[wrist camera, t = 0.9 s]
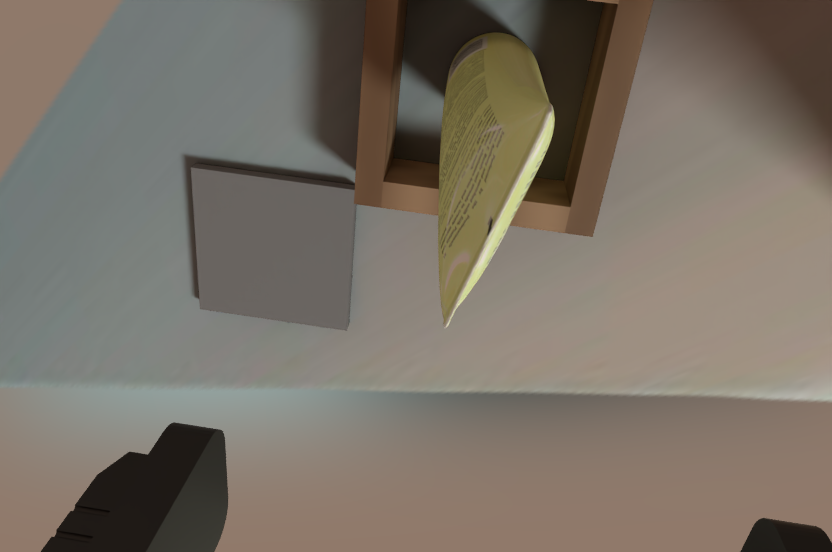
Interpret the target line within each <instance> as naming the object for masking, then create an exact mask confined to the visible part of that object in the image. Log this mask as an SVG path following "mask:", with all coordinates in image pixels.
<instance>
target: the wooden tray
mask: <svg viewBox="0 0 832 552" xmlns="http://www.w3.org/2000/svg"><path fill="white" fill-rule="evenodd" d="M589 1H597V2H604V4H603V9H602V13H601V17H600V22H599V26H598V31H597V35H596V40H595V44H594V49H593V53H592V58H591V62H590V67H589V71H588V75H587V80H586V84H585V89H584V93H583V98H582V102H581V107H580V111H579V116H578V120H577V125H576V129H575V134H574V138H573V142H572V147H571V151H570V156H569V160H568V165H567V169H566V174H565V178H564V181H560V180H552V179H545V178H538V177H534V179H533V181H532V182H531V184H530V186H529V188H528V190H527V192H526V194H525V196H524V198H523V200H522V202H521V204H520V206H519V208H518V210H517V211H516V213H515V215H514V217H513V219H512V221H511V223H510V225H511V226H518V227H525V228H532V229H539V230H547V231H554V232H561V233H568V234H576V235H583V236H590V237H593V233H594V229H595V226H596V222H597V218H598V214H599V210H600V206H601V202H602V198H603V194H604V191H605V187H606V183H607V179H608V175H609V171H610V167H611V163H612V160H613V156H614V152H615V148H616V144H617V140H618V136H619V132H620V128H621V125H622V121H623V117H624V113H625V109H626V105H627V101H628V97H629V94H630V90H631V86H632V82H633V78H634V74H635V70H636V66H637V62H638V59H639V55H640V51H641V47H642V43H643V39H644V35H645V31H646V27H647V24H648V20H649V16H650V12H651V8H652V4H653V0H589ZM407 2H408V0H366V15H365V31H364V47H363V64H362V80H361V96H360V112H359V128H358V145H357V161H356V177H355V193H354V204H359V205H366V206H373V207H381V208H388V209H395V210H402V211H409V212H417V213H424V214H431V215H438V216H439V168H440V164H434V163H426V162H419V161H411V160H404V159H397V158H393V157H394V146H395V135H396V124H397V113H398V102H399V91H400V80H401V68H402V57H403V46H404V35H405V24H406V13H407Z"/></svg>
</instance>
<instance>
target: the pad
mask: <svg viewBox="0 0 832 552" xmlns="http://www.w3.org/2000/svg"><path fill="white" fill-rule="evenodd" d="M191 179H192V194H193V210H194V225H195V240H196V255H197V271H198V286H199V301H200V309H204V310H210V311H217V312H224V313H231V314H237V315H244V316H251V317H258V318H265V319H271V320H278V321H285V322H292V323H299V324H305V325H312V326H319V327H326V328H333V329H339V330H346V331H347V328H348V325H349V315H350V300H351V284H352V268H353V253H354V237H355V221H356V206H357V204H354V193H355V185H351V184H344V183H337V182H329V181H322V180H315V179H307V178H300V177H293V176H285V175H278V174H271V173H264V172H256V171H249V170H242V169H234V168H227V167H220V166H213V165H205V164H198V163H196V164H195V165H193V166H192V167H191Z"/></svg>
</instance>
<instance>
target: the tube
mask: <svg viewBox="0 0 832 552" xmlns="http://www.w3.org/2000/svg"><path fill="white" fill-rule="evenodd" d="M554 122H555V117H554V109H553V106H552V104H550V103H549V100H548V96H547V93H546V90H545V87H544V83H543V80H542V76H541V73H540V70H539V66H538V63H537V61H536V58H535V56H534V54H533V53H532V51H531V50H530V49H529V48H528V46H527V45H526V44H525V43H523V42H522V41H521V40H519V39H518V38H516V37H514V36H512V35H509V34H505V33H496V32H493V33H486V34H483V35H480V36H477V37H475V38H473V39H471V40H470V41H468V42H467V43H466V44H465V45H464V46H462V48H461V49H460V50H459V51H458V52H457V54H456V56H455V57H454V59H453V61H452V64H451V67H450V70H449V74H448V79H447V86H446V92H445V99H444V108H443V117H442V130H441V146H440V168H439V221H438V250H439V281H440V296H441V306H442V313H443V318H444V323H443V324H444V327H445V328H446V327H448V325H449V323H450V320H451V318H452V316H453V314H454V312H455V310H456V308H457V307H458V306H459V305H460V304H461V302H462V301H463V300H464V299H465V298H466V296H467V295H468V293H469V292H470V291H471V289H472V288H473V287H474V285H475V284H476V282H477V281H478V279H479V278H480V277H481V275H482V273H483V272H484V270H485V269H486V267H487V265H488V264H489V262H490V260H491V258H492V257H493V255H494V253H495V252H496V250H497V248H498V246H499V244H500V242H501V241H502V239H503V237H504V235H505V233H506V231H507V229H508V227H509V225H510V223H511V221H512V219H513V217H514V215H515V213H516V211H517V210H518V208H519V206H520V204H521V202H522V200H523V198H524V196H525V194H526V192H527V190H528V188H529V186H530V184H531V182H532V181H533V179H534V177H535V175H536V173H537V171H538V169H539V167H540V165H541V163H542V161H543V158H544V156H545V154H546V152H547V149H548V147H549V144H550V141H551V138H552V135H553V130H554Z"/></svg>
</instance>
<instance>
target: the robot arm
mask: <svg viewBox="0 0 832 552" xmlns="http://www.w3.org/2000/svg"><path fill="white" fill-rule="evenodd" d="M227 509H228V487H227V469H226V451H225V437H224V433H223V431H222V430H218V429H212V428H206V427H199V426H193V425H187V424H180V423H171V424H170V425H169V426H168V427H167V428H166V429H165V431H164V432H163V433H162V435H161V436H160V438H159V439H158V441H157V442H156V444H155V445H154V447H153V448H152V450H151V451H150V453H149V454H148V455H146V454H141V453H134V452H128V453H127V454H126V455H124V456H123V457H121V458H120V459H119V460H117V461H116V462H115V463H113V464H112V465H110V466H109V467H108V468H107V469H105V470H103V471H102V472H101V473H99V474H98V475H97V476H96V477H95V479H94V480H93V481H92V483H91V484H90V486H89V487H88V488H87V490H86V491H85V492H84V494H83V495H82V496H81V498H80V499H79V500H78V502H77V503H76V504H75V509H74V511H70V513H69V514H68V515H67V517H66V518H65V519H64V521H63V522H62V523H61V525H60V526H59V528H58V529H57V533H56V535H55V537H51V538H50V540H49V541H48V542H47V544H46V545H45V547H44V548H43V549H42V551H41V552H214V551H215V549H216V547H217V545H218V542H219V540H220V537H221V534H222V531H223V528H224V524H225V520H226V515H227ZM741 552H832V543H831V541H830V539H829V538H828V536H827V534H826V533H825V532H824V531H823V530H822V529H820V528H818V527H816V526H810V525H804V524H798V523H792V522H785V521H779V520H773V519H766V518H762V519H759V520H758V521H757V522H756V523H755V524H754V526H753V528H752V530H751V532H750V534H749V536H748V538H747V540H746V542H745V544H744V546H743V548H742V550H741Z"/></svg>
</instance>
